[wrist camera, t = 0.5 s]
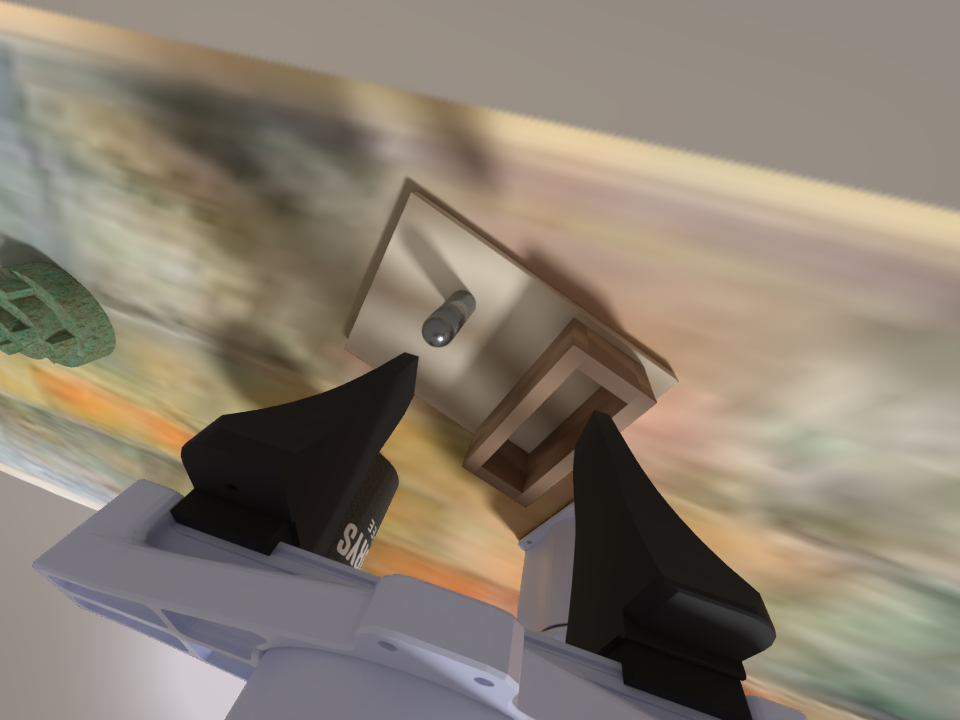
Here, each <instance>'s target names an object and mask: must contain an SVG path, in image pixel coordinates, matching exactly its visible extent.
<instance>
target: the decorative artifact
mask: <svg viewBox="0 0 960 720" xmlns="http://www.w3.org/2000/svg"><path fill="white" fill-rule="evenodd" d="M115 342H116V341H115V334H114V330H113V327H112V325H111V323H110V321H109V319H108V317H107V315H106V313H105V312H104V310H103V309H102V307H101V306H100V304H99V303H98V302H97V300H96V299H95V298H94V297H93V296H92V294H91V293H90V292H89V291H88V290H87V289H86V288H85V287H84V286H83V285H82V284H81V283H79V282H78V281H77V280H76V279H75V278H73V277H72V276H71V275H69V274H68V273H66V272H65V271H63V270H61V269H60V268H58V267H56V266H53V265H51V264H48V263H43V262H35V263H29V264H22V265H16V266H10V267H3V268H0V350H1V351H3V352H5V353H6V354H8V355H11V354H15V353H18V352H20V353H22V354H24V355H26V356H28V357H30V358H33V359H43V358H48V359H49V360H50V361H52V362H53V363H54V364H55V363H58V364H60V365H63V366H67V367H78V366H81V365H84V364H86V363H89V362H92V361H94V360H97V359H99V358H102V357H105V356H107V355H109V354H111V353H112V352H113V350H114V348H115Z"/></svg>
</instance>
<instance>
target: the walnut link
mask: <svg viewBox="0 0 960 720" xmlns="http://www.w3.org/2000/svg"><path fill="white" fill-rule="evenodd" d="M576 368H577V369H578V370H580V371H581V372H583V373H584V374H585V375H587V376H588V377H590V378H591V379H593V380H594V381H595V382H597V383H598V384H600V385H601V387H600V388H599V389H598V390H597V391H596V392H595V393H593V394H592V395H591V396H590V397H589V398H588V399H587V400H586V401H585V402H584V403H583V404H582V405H581V406H580V407H579V408H577V409H576V410H575V411H574V412H573V413H572V414H571V415H570V416H569V417H568V418H567V419H566V420H565V421H564V422H562V423H561V424H560V425H559V426H558V427H557V428H556V429H555V430H554V431H553V432H552V433H551V434H550V435H549V436H547V437H546V438H545V439H544V440H543V441H542V442H541V443H540V444H539V445H538V446H537V447H536V448H535V449H534V450H533V451H531V452H530V453H528V452H526V451H525V450H523V449H522V448H520V447H519V446H517V445H516V444H514V443H513V442H511V441H510V440H508V438H509V437H510V436H511V435H512V434H513V433H514V432H515V431H516V430H517V429H518V428H519V427H520V426H521V425H522V424H523V423H524V422H525V421H526V420H527V419H528V418H529V417H530V416H531V415H532V413H533V412H534V411H535V410H536V409H537V408H538V407H539V406H540V405H541V404H542V403H543V402H544V401H545V400H546V399H547V398H548V397H549V396H550V395H551V394H552V393H553V392H554V391H555V390H556V389H557V388H558V387H559V386H560V385H561V384H562V383H563V382H564V381H565V379H566V378H567V377H568V376H569V375H570V374H571V373H572V372H573V371H574V370H575V369H576ZM656 403H657V401H656V398H655V396H654V393H653V390H652V387H651V385H650V382H649V379H648V376H647V374H646V371H645V368H644V366H642V365H641V364H639V363H638V362H637V361H635V360H634V359H632V358H631V357H629V356H628V355H627V354H625V353H624V352H622V351H621V350H620V349H618V348H617V347H615V346H614V345H612V344H611V343H610V342H608V341H607V340H605V339H604V338H602V337H601V336H600V335H598V334H597V333H595V332H594V331H593V330H591V329H590V328H588V327H587V326H585V325H584V324H583V323H581V322H580V321H578V320H577V319H576V318H573V319H572V320H571V321H570V322H569V323H568V325H567V326H566V327H565V328H564V329H563V330H562V332H561V333H560V334H559V335H558V336H557V337H556V338H555V340H554V341H553V342H552V343H551V344H550V345H549V347H548V348H547V349H546V350H545V351H544V352H543V353H542V355H541V356H540V357H539V358H538V359H537V360H536V362H535V363H534V364H533V365H532V366H531V367H530V368H529V370H528V371H527V372H526V373H525V374H524V375H523V377H522V378H521V379H520V380H519V381H518V382H517V384H516V385H515V386H514V387H513V388H512V389H511V390H510V392H509V393H508V394H507V395H506V396H505V397H504V399H503V400H502V401H501V402H500V403H499V404H498V405H497V407H496V408H495V409H494V410H493V411H492V412H491V414H490V415H489V416H488V417H487V418H486V419H485V420H484V422H483V423H482V424H481V425H480V426H479V427H478V429H477V430H476V432H475V434H474V437H473V439H472V442H471V445H470V447H469V450H468V452H467V455H466V457H465V460H464V462H463V465H462V467H464V468H465V469H467V470H468V471H470V472H471V473H473V474H474V475H476V476H478V477H479V478H481V479H482V480H484V481H485V482H487V483H488V484H490V485H491V486H493V487H495V488H496V489H498V490H499V491H501V492H502V493H504V494H505V495H507V496H508V497H510V498H511V499H513V500H515V501H516V502H518V503H519V504H521V505H522V506H524V507H525V508H526V507H528V506H529V505H530V504H531V503H533V502H534V501H535V500H536V499H538V498H539V497H540V496H541V495H543V494H544V493H545V492H546V491H548V490H549V489H550V488H551V487H553V486H554V485H555V484H556V483H558V482H559V481H560V480H561V479H563V478H564V477H565V476H566V475H568V474H569V473H570V472H571V471H573V461H574V451H575V444H576V443H577V441H578V439H579V437H580V435H581V433H582V431H583V430H584V428H585V426H586V424H587V422H588V420H589V419H590V417H591V415H592V413H593V411H594V410H596V411H599V412H603V413H606V414H609V415H610V416H611V418H612V419H613V421H614V423H615V425H616V426H617V428H618V430H619V432H621V431H623V430H624V429H625V428H626V427H628V426H629V425H630V424H631V423H633V422H634V421H635V420H636V419H638V418H639V417H640V416H641V415H643V414H644V413H645V412H646V411H648V410H649V409H650V408H651V407H653V406H654V405H655V404H656Z"/></svg>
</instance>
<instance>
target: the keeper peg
mask: <svg viewBox="0 0 960 720" xmlns="http://www.w3.org/2000/svg"><path fill="white" fill-rule="evenodd" d="M475 308H476V301H475V298H474V296H473V295H472V294H471V293H469V292H468V291H465V290H458V291H456V292H454V293H453V294H452V295H451V296H450V297H449V298H448V299H447V300H446V301H445V302H444V303H443V304H442V305H441V306H440V307H439V308H437V309H436V310H435V311H434V312H433V313H432V314H431V315H430V316H429V317H428V318H427V319H426V320H425V321H424V323H423V325H422V336H423V339H424V340H425V342H426V343H427V344H429V345H430V346H432V347H437V348H441V347H444V346H447V345H448V344H449V343H450V342H451V341H452V340H453V339H454V337H455V336H456V335H457V333H458V332H459V331H460V329H461V328H462V327H463V325H464V324H465V323H466V321H467V320H468V319H469V317H470V316H471V315H472V313H473V312H474V311H475Z"/></svg>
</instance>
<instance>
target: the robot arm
mask: <svg viewBox="0 0 960 720" xmlns="http://www.w3.org/2000/svg"><path fill="white" fill-rule="evenodd" d="M418 360H419V356H416V355H413V354H409V353H406V352H404V353H402V354H400V355H398V356H397V357H395V358H393V359H392V360H390V361H388V362H386V363H385V364H383V365H381V366H379V367H378V368H376V369H374V370H372V371H370V372H368V373H366V374H365V375H363V376H361V377H359V378H356V379H354V380H352V381H350V382H348V383H346V384H344V385H341V386H339V387H337V388H334V389H331V390H329V391H326V392H323V393H321V394H318V395H314V396H311V397H308V398H304V399H301V400H298V401H294V402H291V403H287V404H282V405H278V406H274V407H269V408H264V409H259V410H253V411H247V412H240V413H234V414H227V415H222V416H220V417H219V418H218V419H216V420H215V421H214V422H212V423H211V424H210V425H209V426H207V427H206V428H205V429H203V430H202V431H201V432H200V433H198V434H197V435H196V436H194V437H193V438H192V439H191V440H189V441H188V442H187V443H186V444H185V445H184V446H183V447H182V450H181V458H182V462H183V465H184V467H185V469H186V471H187V473H188V475H189V478H190V480H191V482H192V484H193V486H194V489H193V490H192V491H191V492H190V493H189V494H188V495H187V496H185V497H184V496H183V495H181V494H180V493H179V492H177V491H175V490H173V489H170V488H168V487H165V486H162V485H159V484H156V483H153V482H151V481H148V480H145V479H139V480H138V481H137V482H135V483H134V484H133V485H131V486H130V487H129V488H128V489H126V490H125V491H124V492H122V493H121V494H120V495H119V496H117V497H116V498H115V499H113V500H112V501H111V502H110V503H108V504H107V505H106V506H104V507H103V508H102V509H101V510H99V511H98V512H97V513H96V514H94V515H93V516H92V517H90V518H89V519H88V520H86V521H85V522H84V523H83V524H81V525H80V526H79V527H77V528H76V529H75V530H74V531H72V532H71V533H70V534H68V535H67V536H66V537H65V538H63V539H62V540H61V541H59V542H58V543H57V544H56V545H54V546H53V547H52V548H50V549H49V550H48V551H47V552H45V553H44V554H43V555H41V556H40V557H39V558H38V559H36V560H35V561H34V562H33V564H32V567H33V568H34V569H35V570H37V571H38V572H39V573H40V574H41V575H43V576H44V577H45V578H46V579H47V580H48V581H49V582H51V583H52V584H53V585H54V586H55V587H57V588H58V589H59V590H60V591H61V592H63V593H64V594H65V595H66V596H67V597H68V598H69V599H71V600H72V601H73V602H74V603H76V604H77V605H78V606H79V607H81V608H83V609H85V610H87V611H90V612H92V613H95V614H97V615H100V616H102V617H105V618H107V619H110V620H112V621H115V622H117V623H119V624H122V625H124V626H126V627H129V628H131V629H133V630H136V631H138V632H140V633H143V634H145V635H147V636H149V637H151V638H153V639H156V640H158V641H160V642H162V643H164V644H167V645H169V646H171V647H173V648H175V649H177V650H180V651H182V652H184V653H186V654H189V655H190V656H193V657H195V658H197V659H199V660H201V661H203V662H205V663H208V664H210V665H212V666H214V667H216V668H218V669H221V670H223V671H225V672H227V673H229V674H231V675H233V676H235V677H238V678H240V679H242V680H244V681H246V682H247V683H246V685H245V686H244V688H243V690H242V691H241V693H240V695H239V696H238V698H237V700H236V702H235V703H234V705H233V706H232V708H231V710H230V711H229V713H228V715H227V716H226V718H225V720H807V717H806V715H805V714H803V713H802V712H801V711H799V710H796V709H793V708H790V707H787V706H784V705H782V704H779V703H776V702H773V701H770V700H767V699H765V698H761V697H757V696H745V694H744V691H743V688H742V685H741V681H744V680H746V673H745V670H744V667H743V664H742V661H743V660H745V659H747V658H750V657H752V656H754V655H756V654H758V653H760V652H762V651H764V650H766V649H767V648H769V647H770V646H771V645H772V644H773V642H774V640H775V638H776V632H775V628H774V626H773V624H772V621H771V619H770V617H769V614H768V612H767V609H766V607H765V605H764V602H763V600H762V598H761V596H760V594H759V592H757V591H756V590H755V589H754V588H753V587H752V586H750V585H749V584H748V583H747V582H746V581H745V580H744V579H742V578H741V577H740V576H739V575H738V574H737V573H735V572H734V571H733V570H732V569H731V568H730V567H729V566H727V565H726V564H725V563H724V562H723V561H722V560H721V559H720V558H719V557H718V556H717V555H716V554H715V553H714V552H713V551H711V550H710V549H709V548H708V547H707V546H706V545H705V544H704V543H703V542H702V541H701V540H700V539H699V538H698V537H697V536H696V535H695V534H694V533H693V531H692V530H691V529H690V528H689V527H688V526H687V525H686V524H685V523H684V522H683V521H682V519H681V518H680V517H679V516H678V515H677V514H676V513H675V511H674V510H673V509H672V508H671V507H670V506H669V504H668V503H667V502H666V501H665V499H664V498H663V497H662V496H661V494H660V493H659V492H658V491H657V489H656V488H655V486H654V485H653V484H652V482H651V481H650V480H649V478H648V477H647V475H646V474H645V472H644V471H643V469H642V468H641V466H640V465H639V463H638V462H637V460H636V459H635V457H634V455H633V454H632V452H631V450H630V449H629V447H628V445H627V444H626V442H625V440H624V439H623V437H622V435H621V433H620V432H619V430H618V428H617V426H616V425H615V423H614V421H613V419H612V418H611V416H610V415H609V414H606V413H603V412H599V411H596V410H594V411H593V413H592V415H591V417H590V419H589V420H588V422H587V424H586V426H585V428H584V430H583V431H582V433H581V435H580V437H579V439H578V441H577V443H576V444H575V451H574V461H573V484H574V501H573V502H572V503H571V504H569V505H568V506H567V507H565V508H564V509H562V510H561V511H560V512H558V513H557V514H556V515H554V516H553V517H551V518H550V519H549V520H547V521H546V522H545V523H543V524H542V525H540V526H539V527H538V528H536V529H535V530H534V531H532V532H531V533H529V534H528V535H527V536H525V537H524V538H523V539H521V540H520V541H519V543H518V546H519V548H521V549H522V550H524V551H525V558H524V566H523V573H522V581H521V588H520V596H519V603H518V611H517V619H516V618H515V617H514V616H513V615H512V614H511V613H509V612H507V611H505V610H503V609H501V608H499V607H497V606H494V605H491V604H488V603H485V602H482V601H480V600H477V599H474V598H471V597H468V596H466V595H463V594H460V593H457V592H454V591H451V590H449V589H446V588H443V587H440V586H437V585H434V584H432V583H429V582H426V581H423V580H420V579H418V578H414V577H410V576H405V575H401V574H394V575H386V576H383V577H378V576H376V575H373V574H370V573H367V572H364V571H362V570H359V569H356V568H353V567H350V566H348V565H345V564H342V563H339V562H336V561H334V560H331V559H328V558H325V555H326V553H327V551H328V549H329V547H330V545H331V542H332V540H333V538H334V536H335V534H336V532H337V530H338V528H339V526H340V524H341V522H342V520H343V517H344V515H345V513H346V511H347V509H348V507H349V505H350V503H351V501H352V500H353V498H354V496H355V494H356V492H357V490H358V488H359V486H360V484H361V482H362V480H363V478H364V477H365V475H366V473H367V471H368V469H369V467H370V465H371V464H372V462H373V461H374V459H375V457H376V456H377V454H378V453H379V451H380V450H381V448H382V447H383V445H384V444H385V442H386V441H387V440H388V438H389V437H390V435H391V434H392V432H393V431H394V429H395V428H396V426H397V425H398V423H399V422H400V420H401V419H402V417H403V416H404V414H405V412H406V410H407V408H408V406H409V404H410V402H411V400H412V398H413V396H414V392H415V384H416V376H417V368H418ZM740 680H741V681H740Z"/></svg>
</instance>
